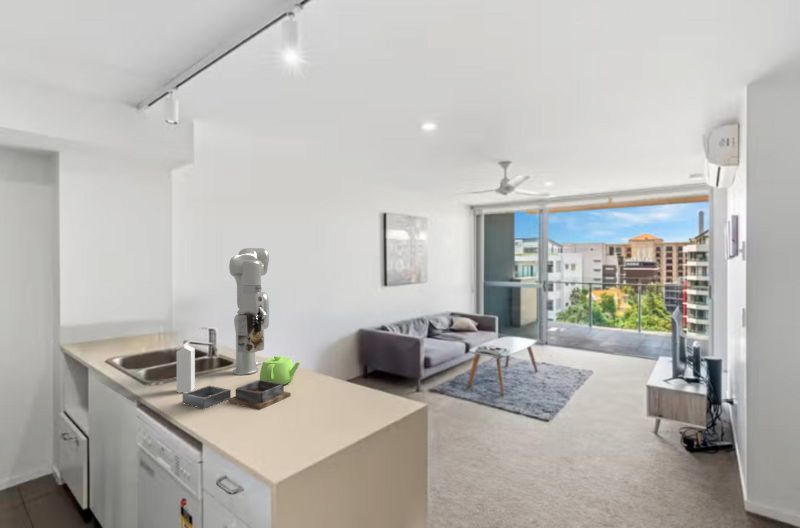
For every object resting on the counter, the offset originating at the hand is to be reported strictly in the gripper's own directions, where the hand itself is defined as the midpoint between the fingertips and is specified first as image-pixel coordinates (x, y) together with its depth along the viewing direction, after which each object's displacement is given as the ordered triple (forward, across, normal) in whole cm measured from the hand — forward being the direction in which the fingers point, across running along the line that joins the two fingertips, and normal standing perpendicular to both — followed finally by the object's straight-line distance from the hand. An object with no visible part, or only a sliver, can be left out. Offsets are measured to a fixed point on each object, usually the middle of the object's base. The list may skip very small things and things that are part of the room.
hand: (251, 330), depth 173 cm
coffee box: (+9, 0, 0) cm, 9 cm away
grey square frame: (+30, +15, +10) cm, 35 cm away
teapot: (+30, +5, -24) cm, 39 cm away
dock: (+30, -3, -2) cm, 30 cm away
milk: (+30, +35, +6) cm, 46 cm away
